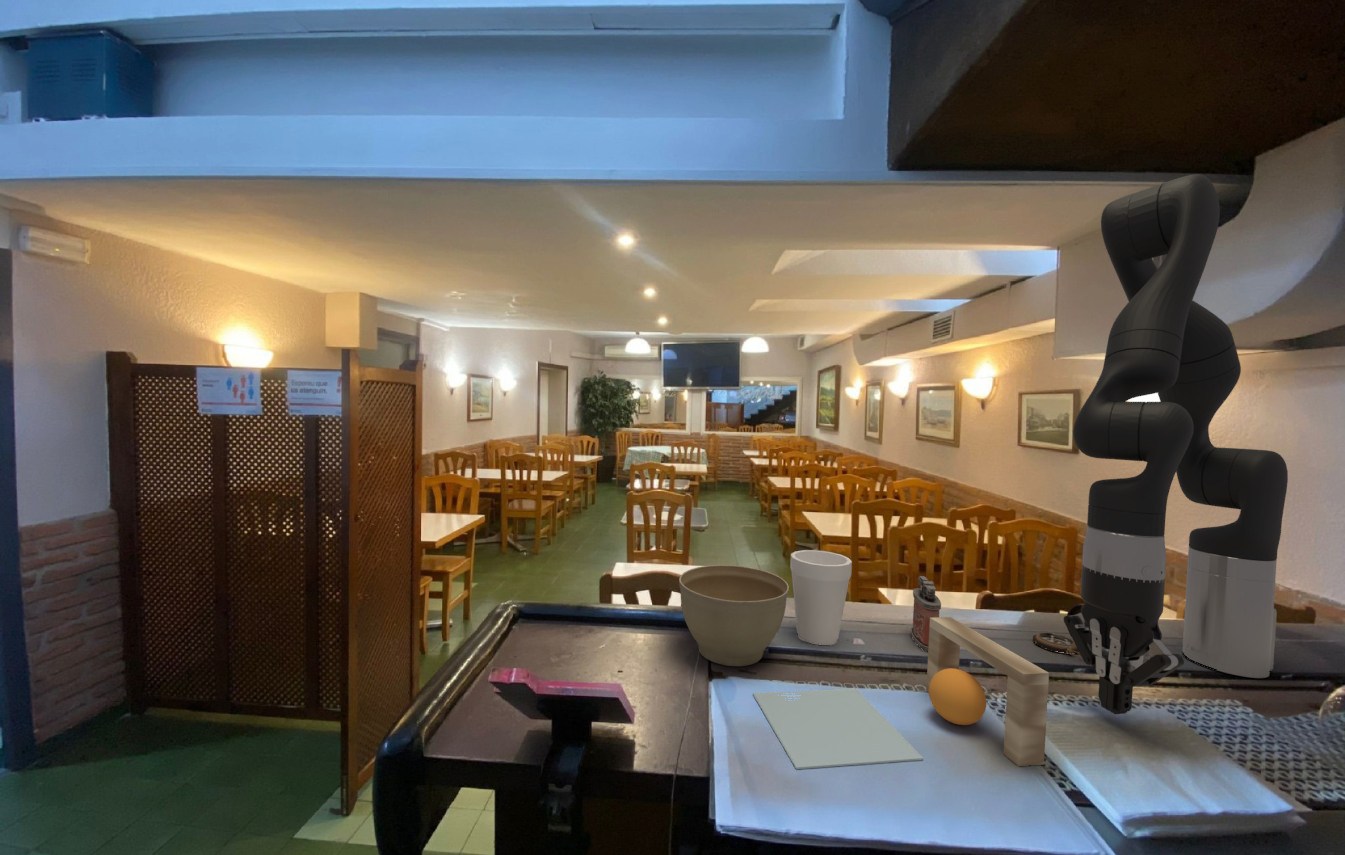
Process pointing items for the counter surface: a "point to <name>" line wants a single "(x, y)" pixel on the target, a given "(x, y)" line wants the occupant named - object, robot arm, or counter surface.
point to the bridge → (1022, 685)
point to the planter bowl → (732, 611)
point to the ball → (957, 696)
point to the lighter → (924, 611)
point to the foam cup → (819, 593)
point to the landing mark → (833, 729)
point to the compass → (1059, 637)
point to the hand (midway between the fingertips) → (1113, 710)
